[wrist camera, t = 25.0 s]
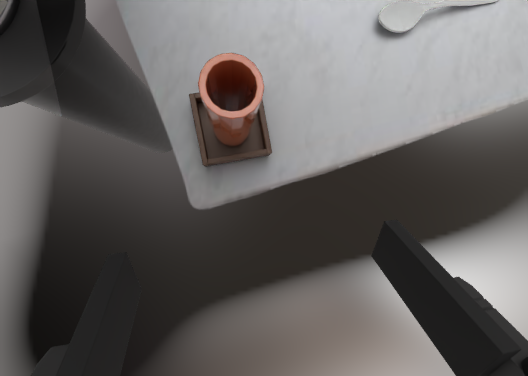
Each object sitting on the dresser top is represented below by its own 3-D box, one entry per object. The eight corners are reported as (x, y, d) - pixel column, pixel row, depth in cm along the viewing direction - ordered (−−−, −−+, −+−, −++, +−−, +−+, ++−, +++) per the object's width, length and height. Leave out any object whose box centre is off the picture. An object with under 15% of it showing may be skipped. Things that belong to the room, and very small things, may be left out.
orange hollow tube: (217, 149, 31) (205, 122, 17) (210, 113, 30) (192, 57, 17) (252, 143, 31) (268, 112, 17) (245, 108, 31) (257, 49, 17)
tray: (205, 166, 31) (202, 165, 28) (192, 101, 31) (188, 93, 28) (269, 155, 32) (272, 152, 29) (257, 91, 32) (259, 83, 29)
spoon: (368, 11, 33) (375, 2, 32) (497, -22, 36) (510, -32, 34) (376, 41, 34) (384, 34, 32) (504, 7, 36) (517, -2, 34)
